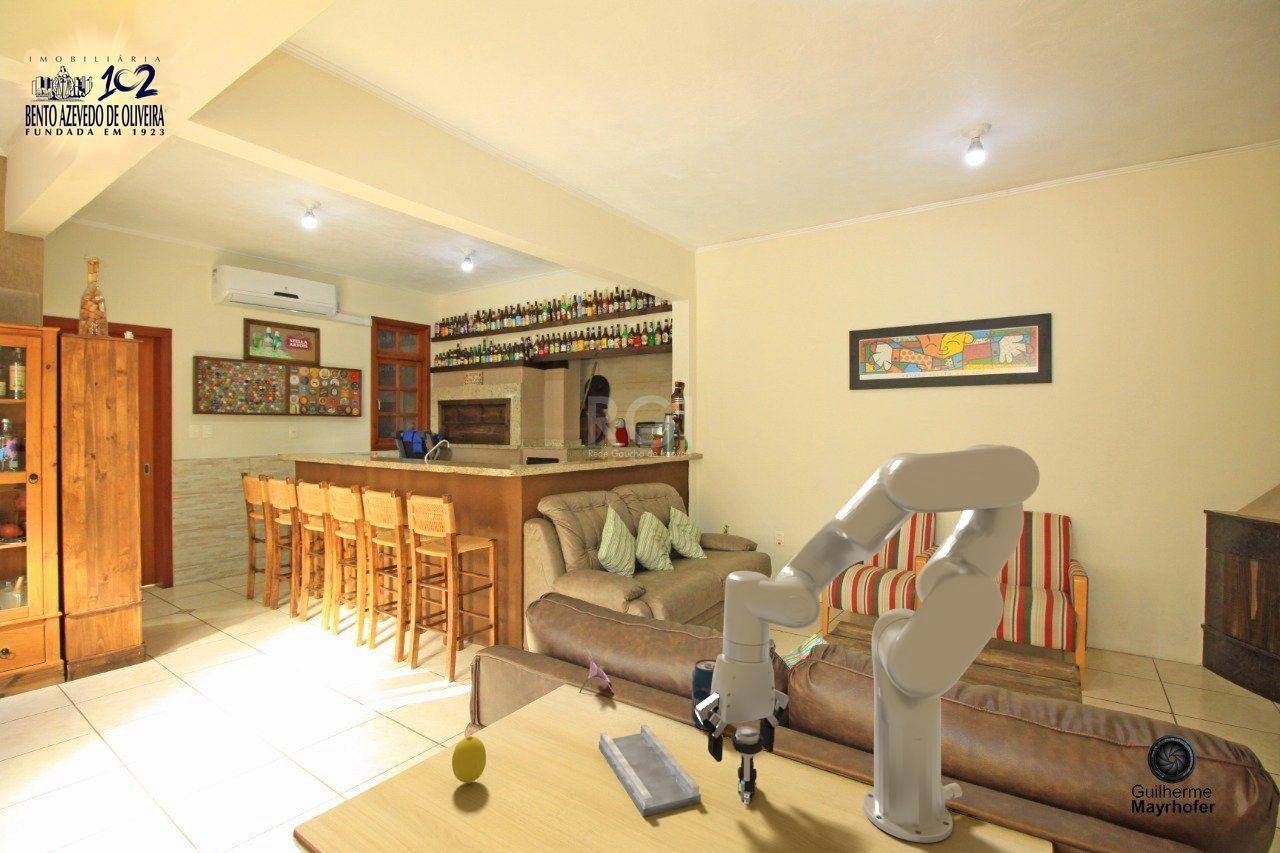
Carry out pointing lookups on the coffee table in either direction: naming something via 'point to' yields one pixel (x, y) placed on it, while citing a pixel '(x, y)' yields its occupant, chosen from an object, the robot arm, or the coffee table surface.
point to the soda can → (702, 686)
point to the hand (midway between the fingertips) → (741, 752)
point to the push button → (747, 759)
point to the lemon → (469, 759)
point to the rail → (649, 772)
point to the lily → (596, 673)
